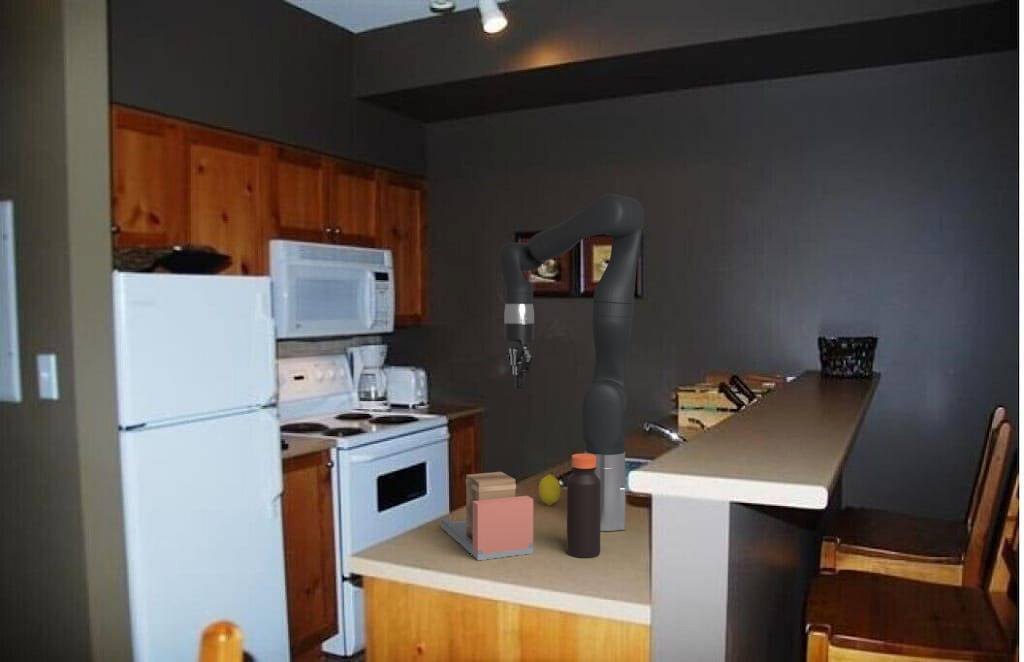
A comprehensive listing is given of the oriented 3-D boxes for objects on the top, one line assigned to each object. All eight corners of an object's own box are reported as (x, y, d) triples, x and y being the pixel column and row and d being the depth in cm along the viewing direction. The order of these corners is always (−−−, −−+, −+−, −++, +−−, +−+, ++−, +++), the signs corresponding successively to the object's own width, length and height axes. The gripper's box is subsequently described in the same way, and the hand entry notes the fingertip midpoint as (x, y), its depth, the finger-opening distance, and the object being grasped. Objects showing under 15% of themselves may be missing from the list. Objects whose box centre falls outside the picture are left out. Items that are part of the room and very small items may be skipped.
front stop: (472, 550, 156) (472, 501, 155) (527, 543, 160) (527, 495, 160) (477, 554, 153) (477, 504, 152) (533, 547, 157) (533, 499, 157)
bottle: (565, 557, 155) (566, 458, 154) (568, 547, 162) (568, 452, 161) (599, 559, 154) (600, 459, 153) (600, 548, 161) (601, 453, 160)
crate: (465, 535, 165) (465, 474, 165) (501, 530, 168) (501, 471, 168) (478, 546, 158) (478, 482, 157) (515, 541, 161) (516, 479, 160)
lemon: (558, 509, 191) (558, 477, 191) (536, 508, 193) (536, 476, 192) (561, 503, 197) (561, 472, 197) (540, 502, 198) (540, 471, 198)
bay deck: (441, 528, 175) (441, 518, 175) (490, 522, 180) (490, 513, 180) (477, 561, 153) (477, 550, 153) (533, 553, 157) (533, 542, 157)
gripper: (495, 321, 201) (495, 387, 201) (515, 322, 189) (515, 393, 189) (522, 321, 204) (522, 386, 204) (543, 322, 191) (543, 392, 192)
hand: (519, 389), depth 197 cm, fingers closed
